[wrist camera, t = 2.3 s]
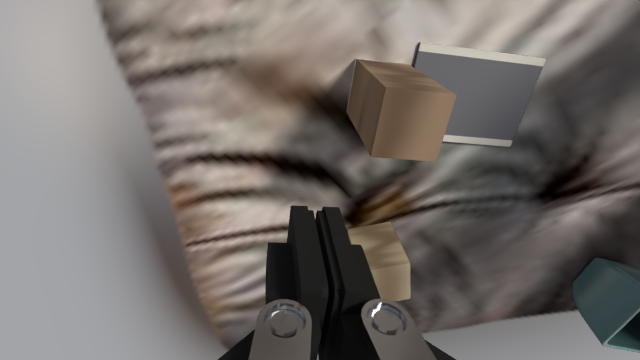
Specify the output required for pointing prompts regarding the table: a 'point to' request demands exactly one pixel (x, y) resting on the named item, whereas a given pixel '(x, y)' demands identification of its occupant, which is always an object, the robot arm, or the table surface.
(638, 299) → the flower pot
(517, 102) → the grey rectangular panel
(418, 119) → the walnut block
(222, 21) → the table surface
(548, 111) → the table surface
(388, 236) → the oak block
